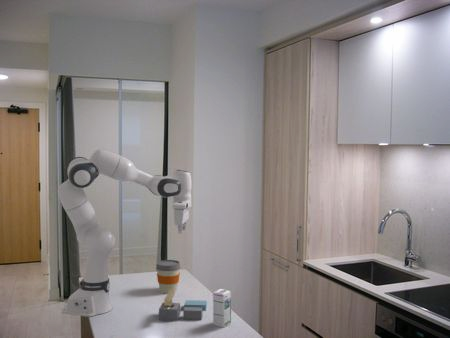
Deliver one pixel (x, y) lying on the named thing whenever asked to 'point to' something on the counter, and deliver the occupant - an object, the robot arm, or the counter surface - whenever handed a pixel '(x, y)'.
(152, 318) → the counter surface
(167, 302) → the T-key
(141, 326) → the counter surface
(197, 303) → the cover
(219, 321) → the syrup box
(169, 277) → the reusable coffee cup
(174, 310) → the block
